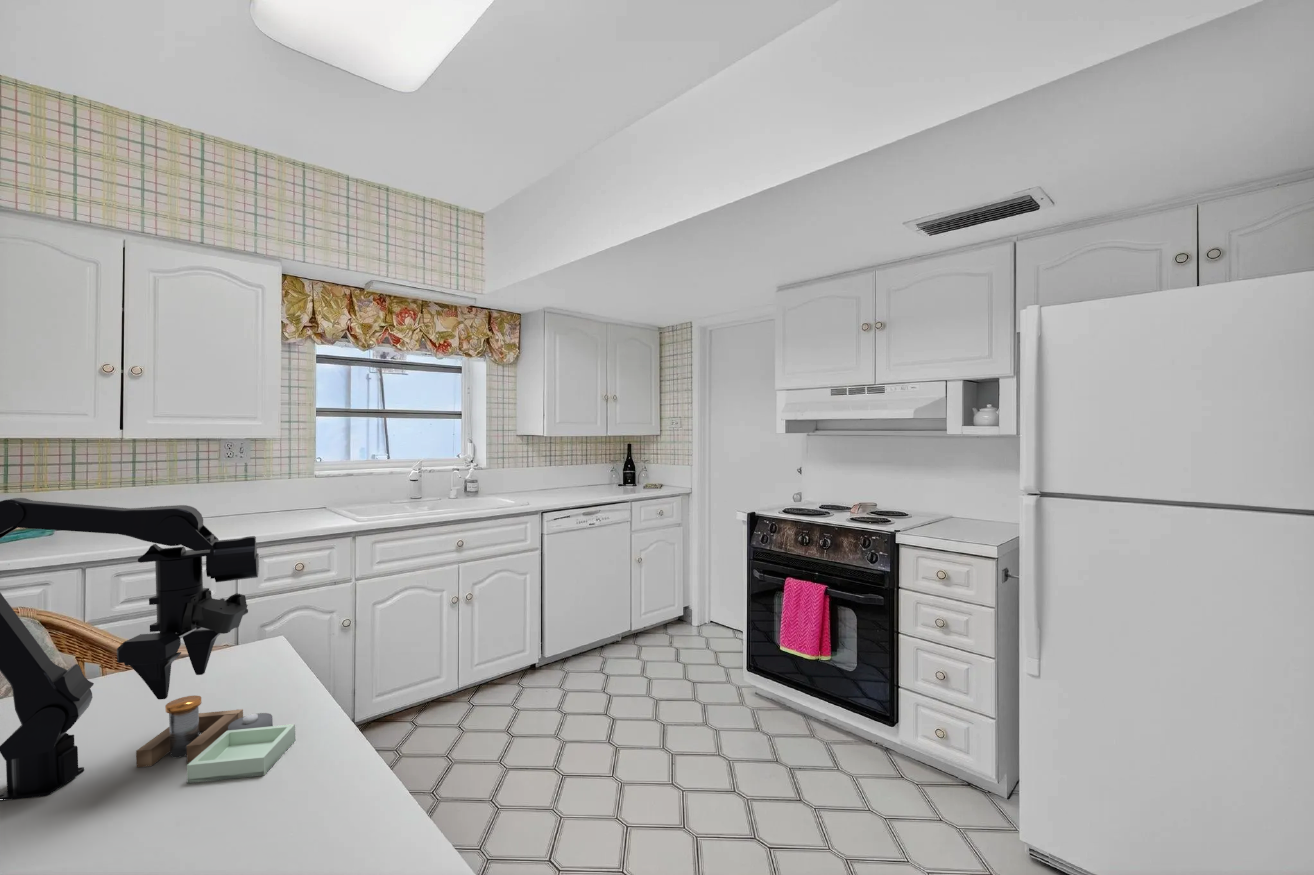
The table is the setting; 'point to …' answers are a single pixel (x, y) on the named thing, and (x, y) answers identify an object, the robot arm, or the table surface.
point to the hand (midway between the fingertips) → (182, 686)
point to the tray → (241, 754)
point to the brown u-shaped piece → (213, 729)
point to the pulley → (252, 721)
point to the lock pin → (183, 723)
